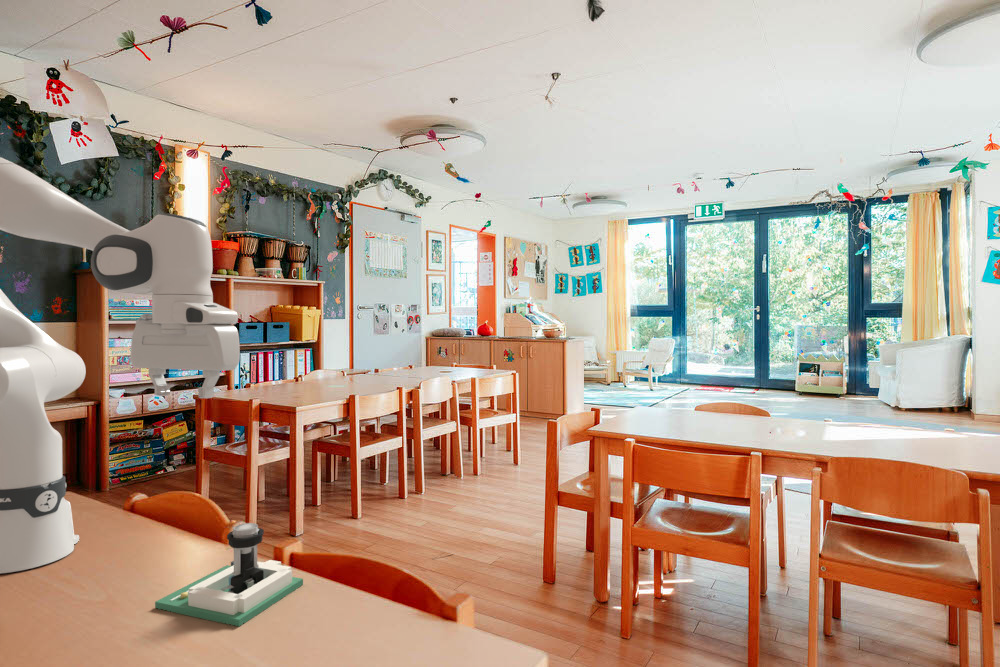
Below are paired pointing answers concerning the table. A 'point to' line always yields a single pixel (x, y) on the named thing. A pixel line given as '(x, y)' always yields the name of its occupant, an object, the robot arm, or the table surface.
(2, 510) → the robot arm
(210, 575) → the board
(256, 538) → the push button
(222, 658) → the table surface
